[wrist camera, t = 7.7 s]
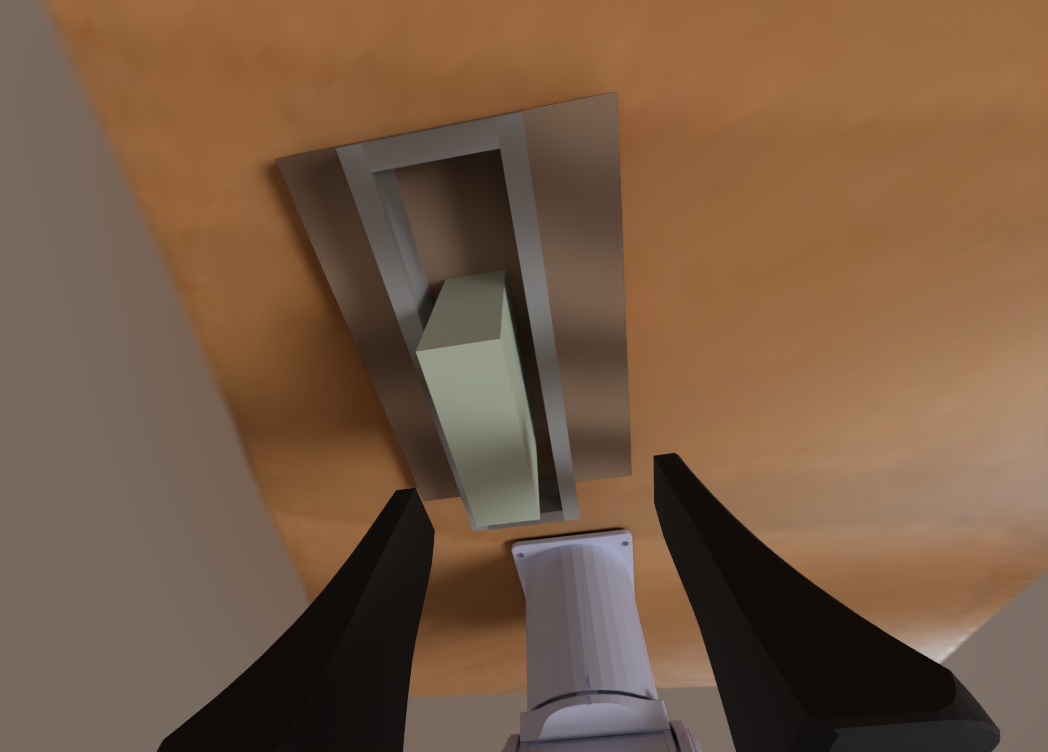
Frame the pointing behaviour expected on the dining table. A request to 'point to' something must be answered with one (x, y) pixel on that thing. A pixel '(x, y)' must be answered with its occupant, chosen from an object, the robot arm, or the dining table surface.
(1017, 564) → the dining table surface
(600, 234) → the grey metal tray
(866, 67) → the dining table surface
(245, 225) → the dining table surface
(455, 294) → the panel
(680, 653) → the dining table surface
